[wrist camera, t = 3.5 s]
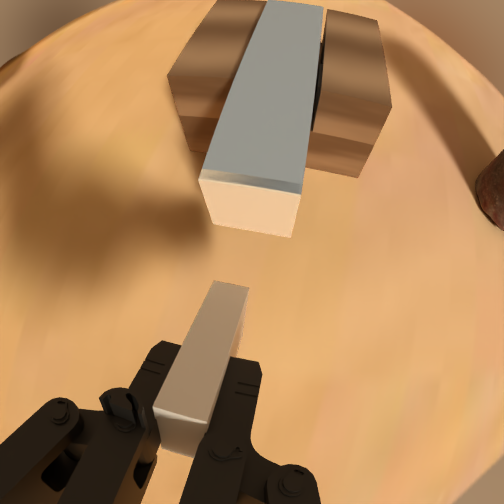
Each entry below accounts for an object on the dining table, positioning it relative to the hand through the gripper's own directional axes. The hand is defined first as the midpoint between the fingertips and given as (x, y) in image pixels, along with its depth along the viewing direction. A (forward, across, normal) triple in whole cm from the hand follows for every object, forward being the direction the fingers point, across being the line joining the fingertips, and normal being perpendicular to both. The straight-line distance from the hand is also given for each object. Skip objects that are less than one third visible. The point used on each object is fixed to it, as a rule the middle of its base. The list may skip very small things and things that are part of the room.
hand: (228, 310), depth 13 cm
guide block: (+19, 0, +8) cm, 20 cm away
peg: (+12, 0, +8) cm, 14 cm away
